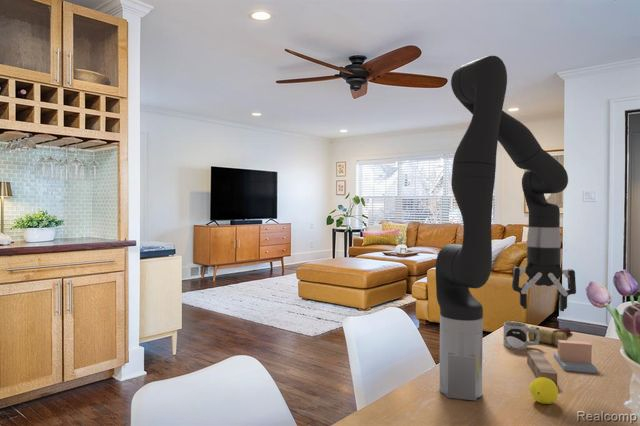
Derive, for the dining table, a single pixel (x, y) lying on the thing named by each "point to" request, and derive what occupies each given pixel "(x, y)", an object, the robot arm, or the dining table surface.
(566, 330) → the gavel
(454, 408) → the dining table surface
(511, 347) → the mug
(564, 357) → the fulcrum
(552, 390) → the lemon
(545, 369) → the walnut bar
